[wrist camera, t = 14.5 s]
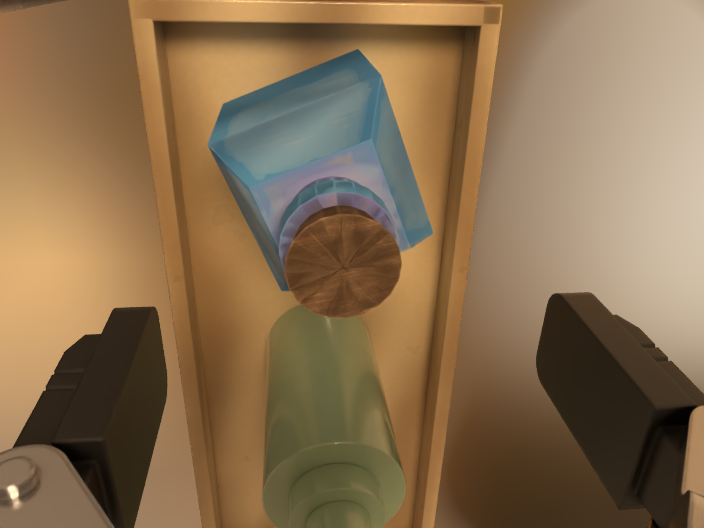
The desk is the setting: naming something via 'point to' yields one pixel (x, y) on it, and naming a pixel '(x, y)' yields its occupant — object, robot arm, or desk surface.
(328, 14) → the tray stand
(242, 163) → the perfume bottle
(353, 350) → the sage bottle
